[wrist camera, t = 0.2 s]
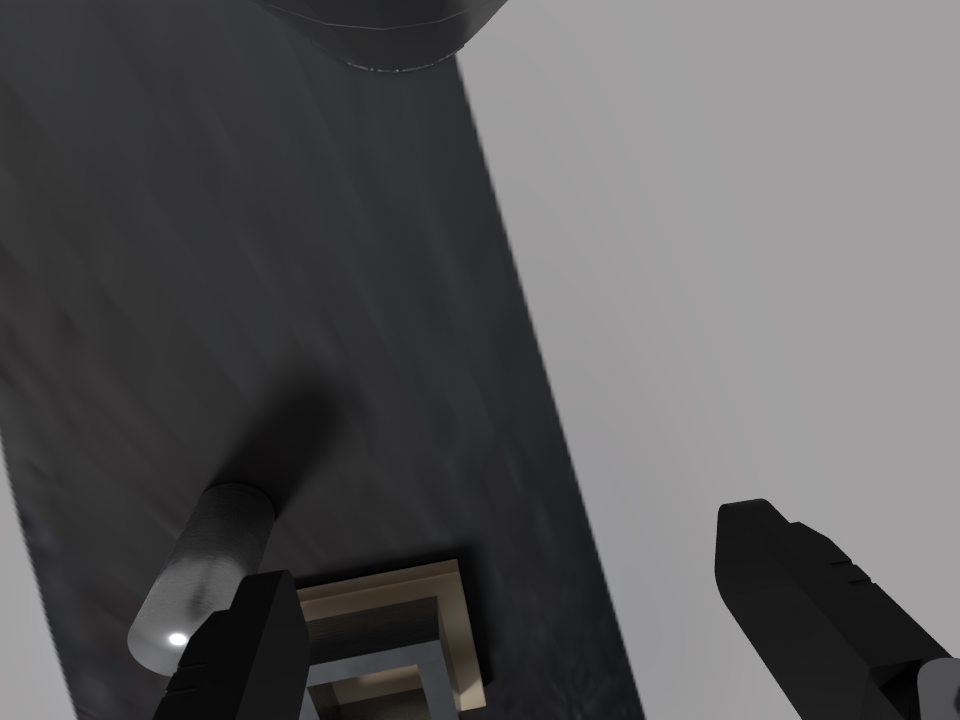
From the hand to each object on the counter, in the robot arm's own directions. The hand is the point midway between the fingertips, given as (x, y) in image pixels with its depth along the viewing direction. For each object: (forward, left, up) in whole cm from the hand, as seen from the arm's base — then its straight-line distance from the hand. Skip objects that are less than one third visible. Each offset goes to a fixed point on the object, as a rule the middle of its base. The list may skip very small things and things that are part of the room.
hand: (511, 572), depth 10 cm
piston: (+10, -13, -18) cm, 24 cm away
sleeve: (+22, -8, -17) cm, 29 cm away
